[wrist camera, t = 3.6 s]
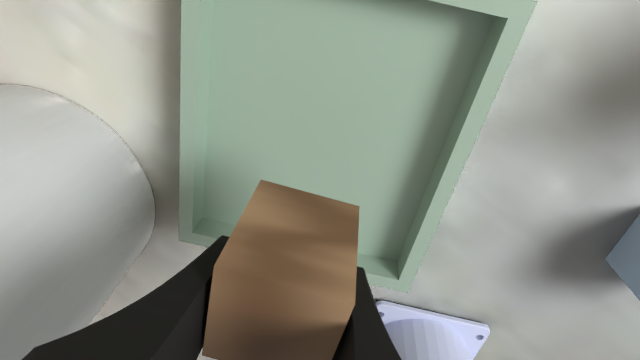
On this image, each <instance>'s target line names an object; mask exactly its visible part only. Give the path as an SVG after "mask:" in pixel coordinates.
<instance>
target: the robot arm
mask: <svg viewBox="0 0 640 360" xmlns="http://www.w3.org/2000/svg"><path fill="white" fill-rule="evenodd" d="M228 239H229V237H228V236H224V235H222V236H220V237H219V238H218V239H217V240H216V241H215V242H214V243H213V244H212V245H211V246H210V247H208V248H207V249H206V250H205V251H204V252H203V253H202V254H201V255H200V256H198V257H197V258H196V259H195V260H194V261H192V262H191V263H190V264H189V265H188V266H186V267H185V268H184V269H183V270H181V271H180V272H179V273H177V274H176V275H175V276H173V277H172V278H171V279H169V280H168V281H167V282H165V283H164V284H162V285H161V286H159V287H158V288H156V289H155V290H153V291H152V292H150V293H149V294H147V295H146V296H144V297H142V298H141V299H139V300H138V301H136V302H134V303H132V304H130V305H129V306H127V307H125V308H123V309H122V310H120V311H118V312H116V313H114V314H112V315H110V316H108V317H106V318H104V319H102V320H100V321H98V322H96V323H94V324H91V325H89V326H87V327H85V328H83V329H81V330H78V331H76V332H74V333H71V334H69V335H66V336H63V337H61V338H58V339H55V340H53V341H50V342H48V343H45V344H42V345H39V346H37V347H34V348H33V349H32V350H31V351H30V352H29V353H28V354H27V355H26V356H25V357H24V358H23V359H22V360H197V357H198V355H199V353H200V351H201V349H202V347H203V344H204V337H205V329H206V322H207V314H208V307H209V299H210V292H211V284H212V277H213V269H214V265H215V263H216V261H217V259H218V258H219V256H220V254H221V252H222V250H223V248H224V246H225V245H226V243H227V241H228ZM379 312H382V313H379ZM489 334H490V329H489V327H488V326H487V325H486V324H483V323H479V322H474V321H470V320H465V319H461V318H457V317H452V316H448V315H444V314H439V313H435V312H431V311H426V310H422V309H418V308H413V307H409V306H404V305H400V304H396V303H391V302H387V301H378V302H376V304H375V301H374V298H373V295H372V293H371V290H370V287H369V283H368V280H367V276H366V273H365V270H364V268H363V267H358V266H357V274H356V297H355V306H354V308H353V310H352V313H351V315H350V318H349V320H348V322H347V325H346V327H345V329H344V332H343V334H342V337H341V339H340V341H339V344H338V346H337V349H336V351H335V353H334V356H333V358H332V360H473V359H474V357H475V356H476V354H477V353H478V351H479V349H480V348H481V346H482V345H483V343H484V342H485V340H486V339H487V337H488V336H489Z"/></svg>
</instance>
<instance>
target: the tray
mask: <svg viewBox="0 0 640 360" xmlns="http://www.w3.org/2000/svg"><path fill="white" fill-rule="evenodd" d="M536 4H537V1H536V0H181V63H180V155H179V241H184V242H188V243H192V244H197V245H201V246H205V247H210V246H211V245H212V244H213V243H214V242H215V241H216V240H217V239H218V238H219V237H220V236H222V235H224V236H228V237H230V235H231V234H232V232H233V230H234V228H235V226H236V224H237V223H238V221H239V219H240V217H241V215H242V213H243V211H244V210H245V208H246V206H247V204H248V202H249V200H250V199H251V197H252V195H253V193H254V191H255V189H256V188H257V186H258V184H259V182H260V180H265V181H269V182H272V183H276V184H280V185H283V186H287V187H291V188H294V189H298V190H302V191H305V192H309V193H313V194H316V195H320V196H324V197H327V198H331V199H335V200H338V201H342V202H346V203H349V204H353V205H357V206H360V207H359V230H358V252H357V266H358V267H363V268H364V270H365V273H366V276H367V280H368V283H369V284H371V285H375V286H380V287H384V288H389V289H393V290H397V291H402V292H406V293H408V291H409V289H410V287H411V285H412V282H413V280H414V278H415V276H416V273H417V271H418V269H419V267H420V264H421V262H422V260H423V258H424V255H425V253H426V251H427V249H428V246H429V244H430V242H431V240H432V237H433V235H434V233H435V231H436V228H437V226H438V224H439V222H440V219H441V217H442V215H443V213H444V210H445V208H446V206H447V204H448V201H449V199H450V197H451V195H452V192H453V190H454V188H455V186H456V183H457V181H458V179H459V177H460V175H461V172H462V170H463V168H464V166H465V163H466V161H467V159H468V157H469V154H470V152H471V150H472V148H473V145H474V143H475V141H476V139H477V136H478V134H479V132H480V130H481V127H482V125H483V123H484V121H485V118H486V116H487V114H488V112H489V109H490V107H491V105H492V103H493V100H494V98H495V96H496V94H497V91H498V89H499V87H500V85H501V82H502V80H503V78H504V76H505V73H506V71H507V69H508V67H509V64H510V62H511V60H512V58H513V55H514V53H515V51H516V49H517V46H518V44H519V42H520V40H521V37H522V35H523V33H524V31H525V28H526V26H527V24H528V22H529V19H530V17H531V15H532V13H533V10H534V8H535V6H536Z"/></svg>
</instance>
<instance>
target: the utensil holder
mask: <svg viewBox="0 0 640 360" xmlns="http://www.w3.org/2000/svg"><path fill="white" fill-rule="evenodd" d="M154 222H155V202H154V197H153V193H152V189H151V186H150V183H149V181H148V179H147V176H146V174H145V172H144V170H143V168H142V167H141V165H140V163H139V162H138V160H137V159H136V157H135V156H134V154H133V153H132V151H131V150H130V149H129V148H128V146H127V145H126V144H125V143H124V141H123V140H122V139H121V138H120V137H119V136H118V135H117V134H116V133H115V132H114V131H113V130H112V129H111V128H110V127H109V126H108V125H106V124H105V123H104V122H103V121H101V120H100V119H99V118H98V117H96V116H95V115H94V114H92V113H91V112H89V111H88V110H86V109H84V108H83V107H81V106H79V105H77V104H75V103H73V102H71V101H69V100H67V99H65V98H63V97H61V96H59V95H56V94H53V93H51V92H48V91H45V90H42V89H38V88H34V87H30V86H24V85H15V84H0V360H22V359H23V358H24V357H25V356H26V355H27V354H28V353H29V352H30V351H31V350H32V349H33V348H34V347H37V346H39V345H42V344H45V343H48V342H50V341H53V340H55V339H58V338H61V337H63V336H66V335H69V334H71V333H74V332H76V331H78V330H81V329H83V328H85V327H87V326H88V325H89V324H90V322H91V321H92V320H93V318H94V317H95V316H96V314H97V313H98V312H99V310H100V309H101V308H102V306H103V305H104V303H105V302H106V301H107V299H108V298H109V296H110V295H111V294H112V292H113V291H114V289H115V288H116V287H117V285H118V284H119V282H120V281H121V280H122V278H123V277H124V276H125V274H126V273H127V271H128V270H129V269H130V267H131V266H132V265H133V263H134V262H135V261H136V259H137V258H138V256H139V255H140V253H141V252H142V251H143V249H144V248H145V246H146V245H147V243H148V241H149V239H150V237H151V235H152V232H153V228H154Z"/></svg>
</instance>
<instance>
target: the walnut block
mask: <svg viewBox="0 0 640 360" xmlns="http://www.w3.org/2000/svg"><path fill="white" fill-rule="evenodd" d="M359 207H360V206H357V205H353V204H349V203H346V202H342V201H338V200H335V199H331V198H327V197H324V196H320V195H316V194H313V193H309V192H305V191H302V190H298V189H294V188H291V187H287V186H283V185H280V184H276V183H272V182H269V181H265V180H260V182H259V184H258V186H257V188H256V189H255V191H254V193H253V195H252V197H251V199H250V200H249V202H248V204H247V206H246V208H245V210H244V211H243V213H242V215H241V217H240V219H239V221H238V223H237V224H236V226H235V228H234V230H233V232H232V234H231V235H230V237H229V239H228V241H227V243H226V245H225V246H224V248H223V250H222V252H221V254H220V256H219V258H218V259H217V261H216V263H215V265H214V269H213V277H212V284H211V292H210V299H209V307H208V314H207V322H206V329H205V337H204V344H203V352H202V355H203V356H207V357H210V358H214V359H218V360H332V358H333V356H334V353H335V351H336V349H337V346H338V344H339V341H340V339H341V337H342V334H343V332H344V329H345V327H346V325H347V322H348V320H349V318H350V315H351V313H352V310H353V308H354V306H355V297H356V274H357V252H358V230H359Z"/></svg>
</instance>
